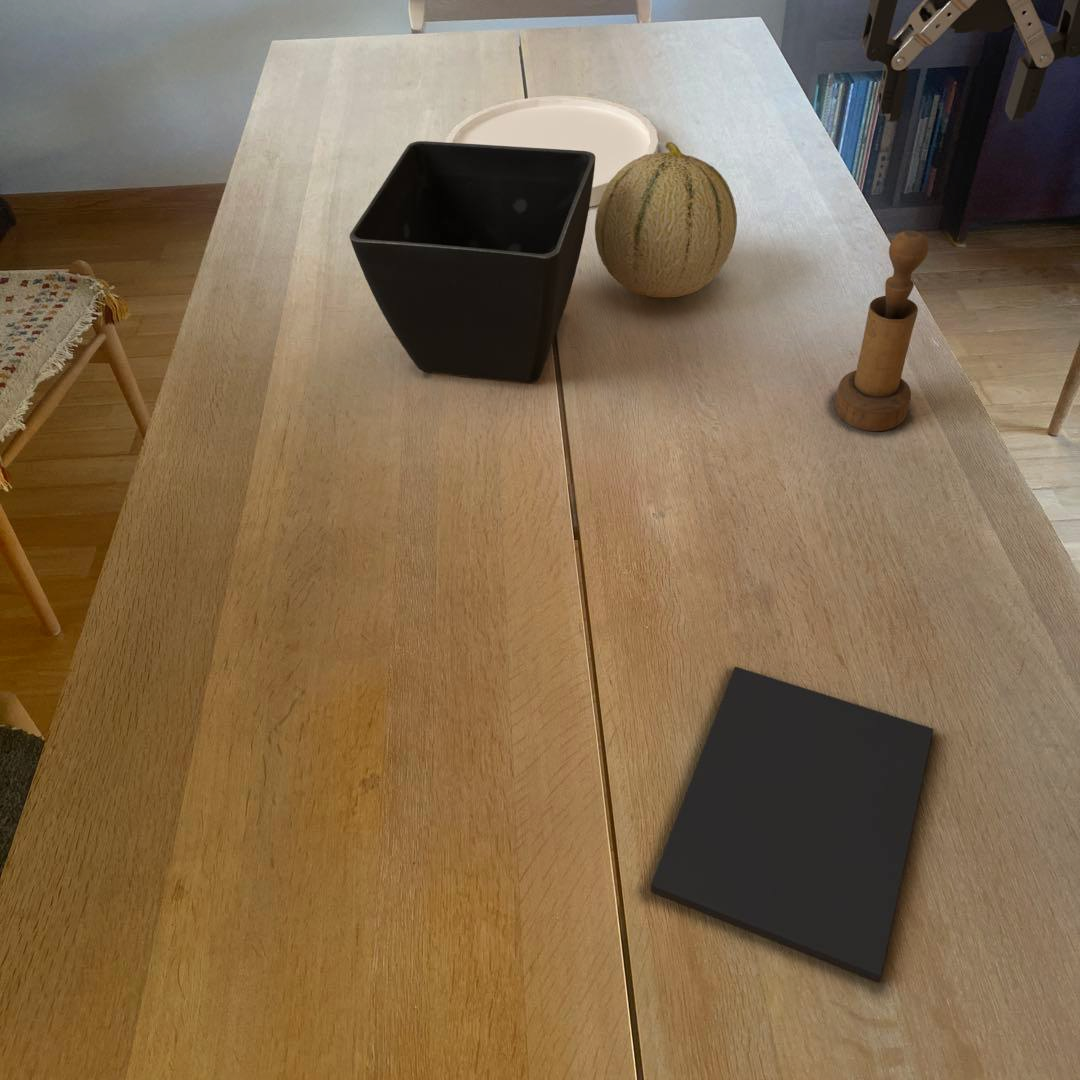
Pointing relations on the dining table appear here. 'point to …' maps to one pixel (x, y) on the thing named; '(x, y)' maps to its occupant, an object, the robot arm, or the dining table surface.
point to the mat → (799, 821)
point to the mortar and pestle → (885, 346)
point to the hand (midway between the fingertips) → (951, 117)
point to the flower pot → (476, 253)
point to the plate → (565, 131)
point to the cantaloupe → (665, 224)
